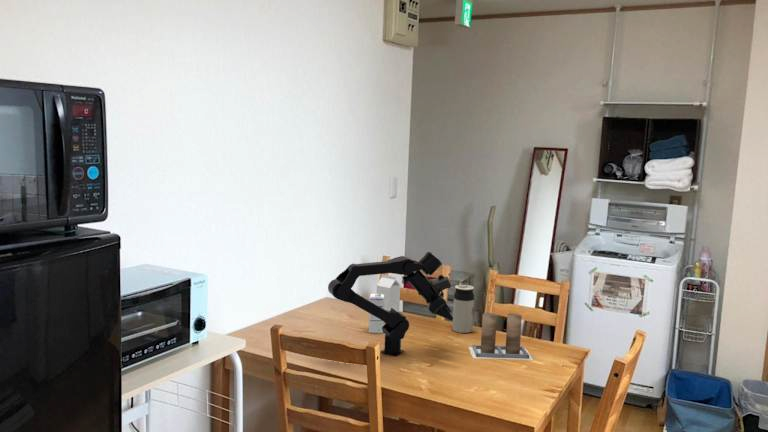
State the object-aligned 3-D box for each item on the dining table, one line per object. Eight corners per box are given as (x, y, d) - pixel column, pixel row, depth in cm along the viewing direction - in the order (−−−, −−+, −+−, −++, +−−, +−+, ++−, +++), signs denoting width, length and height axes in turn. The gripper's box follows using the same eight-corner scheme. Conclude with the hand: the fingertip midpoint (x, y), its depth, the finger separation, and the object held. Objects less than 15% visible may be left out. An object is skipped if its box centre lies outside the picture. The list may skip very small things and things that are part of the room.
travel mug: (449, 331, 255) (451, 287, 253) (456, 326, 262) (458, 283, 260) (468, 334, 251) (470, 290, 249) (475, 329, 258) (477, 286, 256)
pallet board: (472, 360, 221) (473, 354, 221) (468, 349, 233) (468, 343, 233) (533, 362, 221) (533, 356, 221) (525, 351, 233) (525, 345, 233)
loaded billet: (517, 356, 223) (519, 318, 222) (503, 354, 226) (505, 316, 224) (521, 352, 228) (523, 314, 226) (507, 350, 230) (509, 312, 228)
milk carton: (389, 323, 263) (390, 278, 261) (375, 320, 267) (376, 275, 265) (399, 319, 268) (400, 275, 266) (385, 316, 273) (387, 273, 270)
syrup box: (383, 333, 249) (384, 297, 247) (368, 332, 249) (369, 296, 247) (383, 329, 255) (384, 293, 253) (369, 328, 255) (370, 293, 253)
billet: (488, 356, 223) (490, 317, 222) (477, 352, 227) (479, 314, 225) (497, 353, 226) (499, 315, 225) (486, 349, 230) (489, 312, 229)
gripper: (440, 275, 216) (471, 308, 218) (437, 264, 235) (465, 294, 236) (416, 296, 218) (446, 329, 219) (414, 284, 236) (443, 314, 237)
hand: (451, 316), depth 228 cm, fingers open, 9 cm apart
